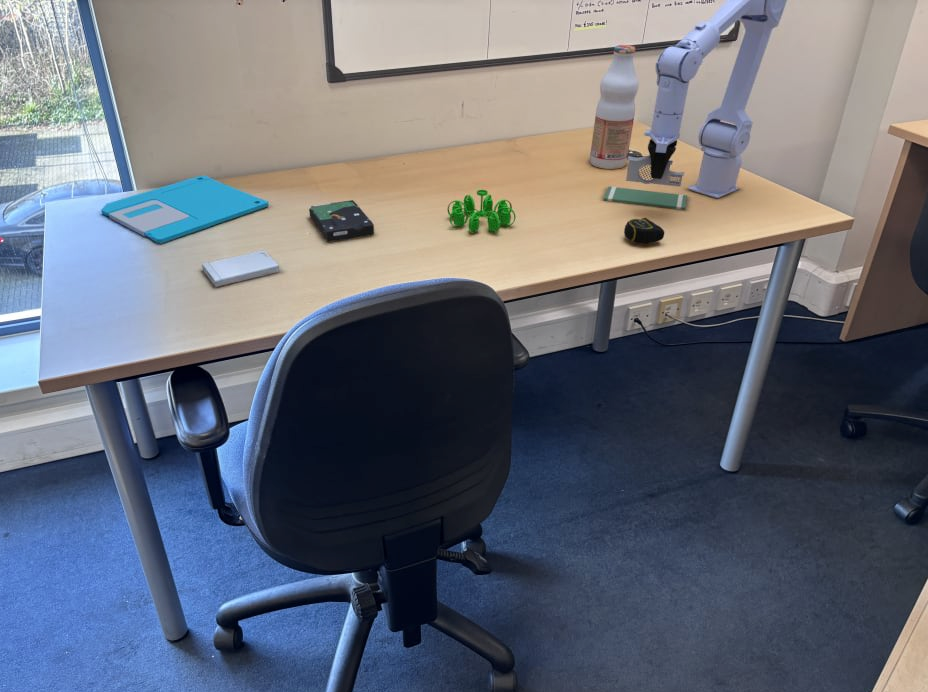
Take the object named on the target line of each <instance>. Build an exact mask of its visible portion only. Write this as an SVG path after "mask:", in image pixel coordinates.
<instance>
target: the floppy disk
mask: <svg viewBox="0 0 928 692" xmlns="http://www.w3.org/2000/svg"><path fill="white" fill-rule="evenodd" d="M269 205H270V204H269V201H268V200H266V199H263V198H260V197H257V196H254V195H252V194H250V193H247V192H244V191H242V190H241V189H238V188H235V187H233V186H230V185H228V184H225V183H223V182H220V181H218V180H215V179H213V178H211V177H209V176H207V175H204V174H203V175H199V176H195V177H192V178H188V179H185V180H181V181H177V182H175V183H172V184H168V185H163V186H161V187H158V188H155V189H152V190H148V191H145V192H141V193H138V194H135V195H131V196H128V197H124V198H121V199H118V200H114V201H110V202H108V203H106V204H105V205H104V206H103V207H102V208H101V209H100V211H101V214H103V215H105V216H107V217H109V219H111V220H112V221H114V222H117V223H119V224H120V225H122V226H123V227H126V228H128V229H130V230H132V231H133V232H135V233H137V234H139V235H141V236H143V237H148V238H150V239H151V240H152V241H153V242H156V243H157V244H163V243H166V242H169V241H172V240H175V239H178V238H180V237H184V236H186V235H189V234H192V233H195V232H198V231H201V230H204V229H207V228H209V227H212V226H215V225H218V224H221V223H223V222H226V221H229V220H232V219H235V218H238V217H242V216H244V215H247V214H250V213H252V212H255V211H258V210H262V209H264V208H267V207H269Z"/></svg>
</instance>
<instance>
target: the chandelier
mask: <svg viewBox="0 0 928 692" xmlns="http://www.w3.org/2000/svg"><path fill="white" fill-rule="evenodd" d="M488 193H489V192H488V190H486V189H479V190H477V191H476V195H477V196H480V207H479V208H480V209H479V210H478V209H477V208H476V205H475V201H474V197H473V196H472V195H470V194H466V195H464V198H463V201H462V200H458V199H456V200H452V201H451V202H450V203H449V204H448V205H447V214H448V216H449V223H450V225H451V226H452V227H453V228H458V229H459V228H461V227H464V226H465V225H466V223H467V222H468V230H469V231H470V233H471V234H475V233H476V232H477V231H479V229H480V218H483V217H485V218H486V219H487V228H488V230H489V231H490V232H491V233H493V234H496V233H499V230H500V227H501V226H502V227H505V228H507V227H510V226H512V225H513V224H515V221H516V217H517V216H516V213H515V211H514V209H513V205H512V203H511V201H510V200H508V199H501V200H499V201H498V202H496V203H495V205H494V201H493V198H492V195H491V194H488ZM485 196H486V197H485ZM451 204H452V207H451V212H450V206H451ZM508 204H509V206H508ZM493 207H494V208H493ZM496 210H497V211H496ZM511 213H512V214H513V221H512V222H511V218H512V214H511ZM452 220H453V222H452Z"/></svg>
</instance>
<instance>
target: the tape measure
mask: <svg viewBox="0 0 928 692" xmlns="http://www.w3.org/2000/svg"><path fill="white" fill-rule="evenodd" d="M623 234H624V237H625V239H626V240H628V241H630V242H632V243H635V244H637V245H638V244H639V245H640V244H641V245H649V244H653V243H656V242H660V241H662V240H663V239H664V237H665V230H664V229H663V228H662V227H661V226H659V225H658V224H657V223H655V222H654V221H651V220H650V219H649V218H647V217H642V218H632V219H629V220H628V221H627V222H626V224H625V226H624V229H623Z"/></svg>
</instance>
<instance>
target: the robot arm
mask: <svg viewBox="0 0 928 692" xmlns="http://www.w3.org/2000/svg"><path fill="white" fill-rule="evenodd" d="M787 2H788V0H726V1H725V2H724V3H723V4H722V5H721V6H720V7H719V9H717V11H716V12H715V13H714V15H713V16H712V17H711V18H710V19H709V20H708V21H700V22H697V24H695V26H694V27H693V28H692V29H691V30H690V31H689V32H688V33H686V35H685V36H684V37H683V38H682V39H681V40H680V41H679V42H678V43H677V44H675V45H674V46H669V47H668V46H667V48H665V49H663V50H662V51H661V52H660V54H659V56H658V59H657V61H656V62H655V73H656V86H657V92H656V99H655V104H654V108H653V109H654V110H653V115H652V122H651V128H650V129H646V130H644V132H643V134H644V136H645V137H648V138H650V139H649V141H648V144H647V151H648V155H649V156H650V159H651V165H650V167H651V168H650V169H651V170H650V171H651V174H650V178H651V179H653V178H656V179H661V178H662V176H663V174H664V171H665V168H666V166H667V163H668V161H670V159H671V157H672V156H673V155H674V154H675V152H676V150H677V147H676V146H677V144H678V140H679V139H680V138H681V137H680V136H681V133H680V130H681V127H682V121H683V116H684V112H685V106H686V100H687V95H688V91H689V86H690V81H692V79H694V78H695V77H696V75H697V74H698V71H699V68H700V66H701V65H702V63H703V60H704V59H705V58H706V57H707V56H708V55H709V54H710V53H711V52H712V51H714V49H715V48H716V47H717V46H718V45H719V44H720V40H721V34H723V33H724V32H725V31H726V30H728V29H729V28H730V27H731V26H733V25H734V24H735V23H736V22H738V21H739V22H740V23H742V25H743V26H744V30H745V31H744V34H743V37H742V40H741V43H740V46H739V49H738V53H737V55H736V59H735V61H734V64H733V67H732V71H731V74H730V77H729V80H728V82H727V86H726V89H725V92H724V95H723V97H722V101H721V104H720V106H719V107H717V108H716V109H714V110H712V111H710V112H709V113H707V117H706V119H705V121H704V123H703V125H702V126H701V127H700V129H699V133H698V144H699V146H700V147H701V149H700V151H702V153H703V154H702V157H701V163H700V167H699V172H698V177H697V180H696V183H695V184H693V185H691V186H688V188H687V190H689V191H692V192H696V193H698V194H702V195H706V196H708V197H712V198H715V199H720V198H722V197H724V196H727V195H729V194H731V193H733V192H736V191H738V190H739V189H740V187H739V186H737V182H738V178H739V174H740V170H741V167H742V156H741V154H743V153H744V152H745V150H746V149H747V148H748V145H749V143H750V139H751V132H752V127H753V125H754V124H753V121H752V119H751V118H750V117H749V115H748V113H747V112H746V108H747V104H748V102H749V100H750V99H749V98H750V95H751V93H752V89H753V87H754V84H755V81H756V79H757V75H758V73H759V69H760V67H761V64H762V60H763V59H764V55H765V52H766V50H767V46H768V43H769V41H770V38H771V35H772V31H773V29H775V28H777V27H779V24H780V21H781V19H782V17H783V14H784V11H785V8H786V4H787Z"/></svg>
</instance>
